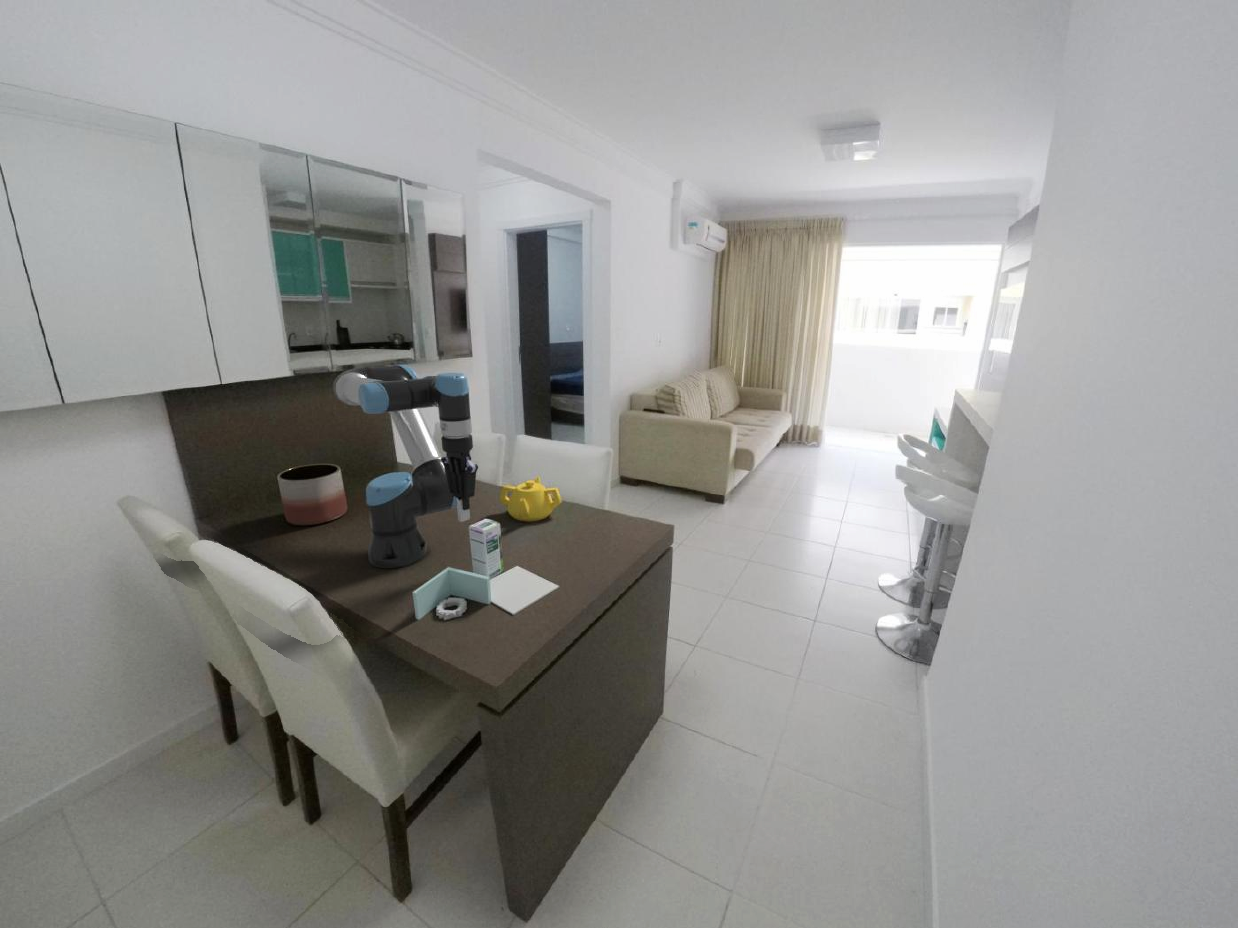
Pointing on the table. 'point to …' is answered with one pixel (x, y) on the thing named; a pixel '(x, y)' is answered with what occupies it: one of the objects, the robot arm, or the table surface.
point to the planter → (312, 494)
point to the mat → (518, 589)
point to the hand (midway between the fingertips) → (464, 519)
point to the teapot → (530, 500)
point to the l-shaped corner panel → (451, 593)
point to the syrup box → (486, 548)
